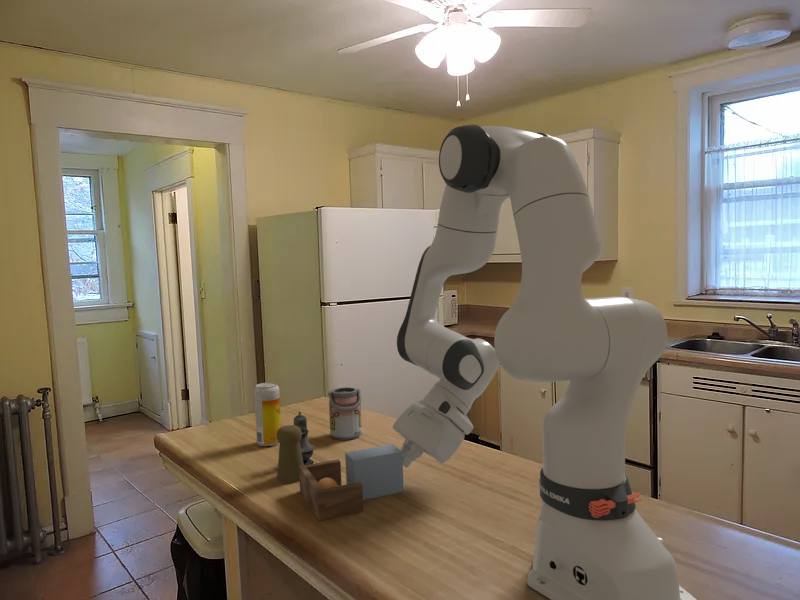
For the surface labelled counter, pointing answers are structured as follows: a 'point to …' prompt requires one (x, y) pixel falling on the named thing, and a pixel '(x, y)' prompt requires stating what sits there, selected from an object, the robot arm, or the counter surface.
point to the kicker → (376, 470)
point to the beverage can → (345, 413)
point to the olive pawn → (289, 454)
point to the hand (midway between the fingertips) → (400, 463)
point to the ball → (327, 483)
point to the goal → (329, 491)
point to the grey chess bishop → (304, 439)
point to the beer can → (267, 413)
